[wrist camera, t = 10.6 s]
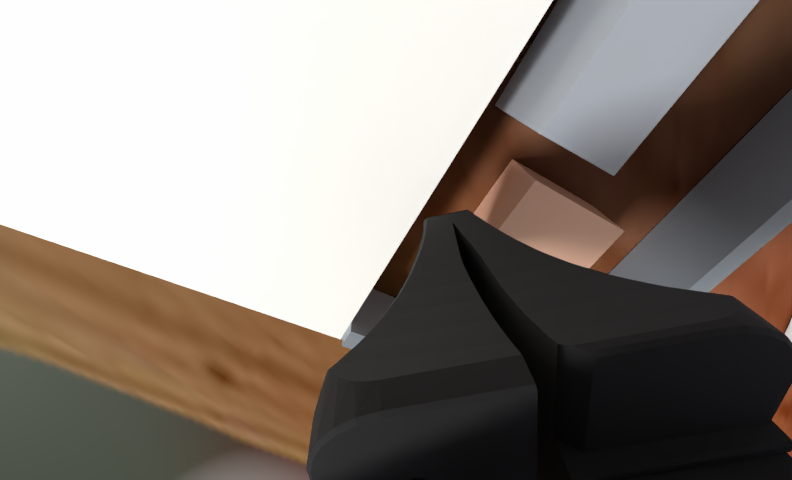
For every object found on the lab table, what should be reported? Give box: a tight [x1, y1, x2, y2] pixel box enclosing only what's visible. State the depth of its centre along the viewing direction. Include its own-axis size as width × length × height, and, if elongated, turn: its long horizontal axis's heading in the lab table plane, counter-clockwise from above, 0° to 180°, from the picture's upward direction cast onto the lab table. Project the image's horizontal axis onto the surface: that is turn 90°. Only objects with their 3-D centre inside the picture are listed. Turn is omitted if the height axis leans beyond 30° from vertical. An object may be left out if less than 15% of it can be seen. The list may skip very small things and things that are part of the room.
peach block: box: [474, 159, 624, 268], centre depth 14 cm, size 4×5×2 cm
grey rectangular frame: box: [342, 89, 792, 349], centre depth 12 cm, size 11×18×3 cm, turn 152°
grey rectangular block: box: [495, 0, 759, 176], centre depth 10 cm, size 4×5×2 cm
